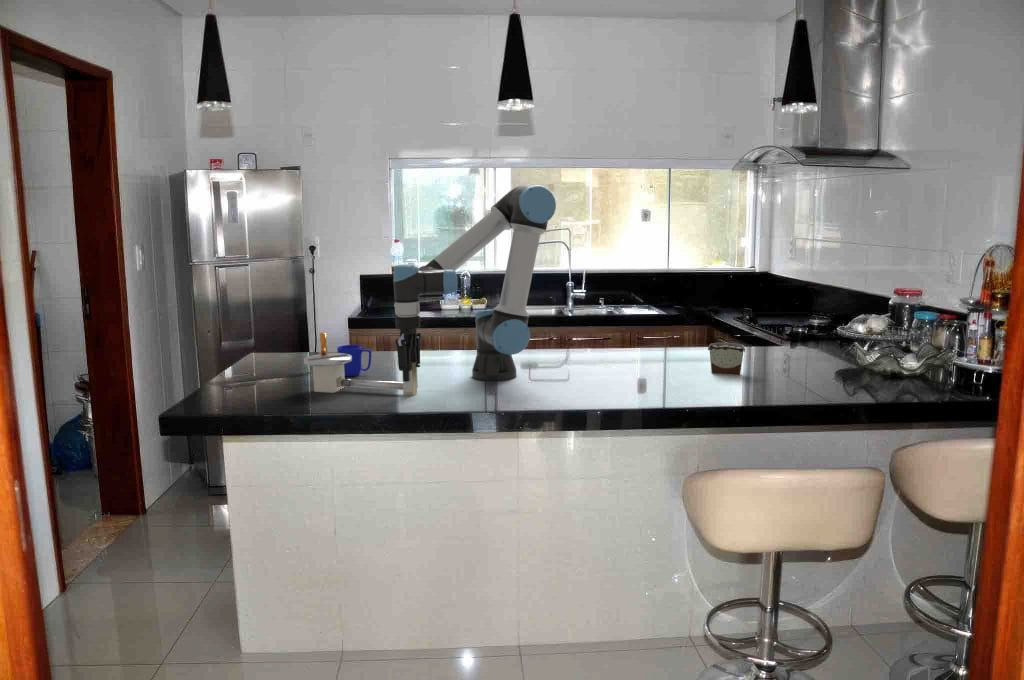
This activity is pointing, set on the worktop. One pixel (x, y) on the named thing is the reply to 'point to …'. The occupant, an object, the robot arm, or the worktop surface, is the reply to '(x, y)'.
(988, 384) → the worktop surface
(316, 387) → the eye block
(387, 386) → the hook rod
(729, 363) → the food container
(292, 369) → the worktop surface
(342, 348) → the mug
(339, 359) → the handwheel
